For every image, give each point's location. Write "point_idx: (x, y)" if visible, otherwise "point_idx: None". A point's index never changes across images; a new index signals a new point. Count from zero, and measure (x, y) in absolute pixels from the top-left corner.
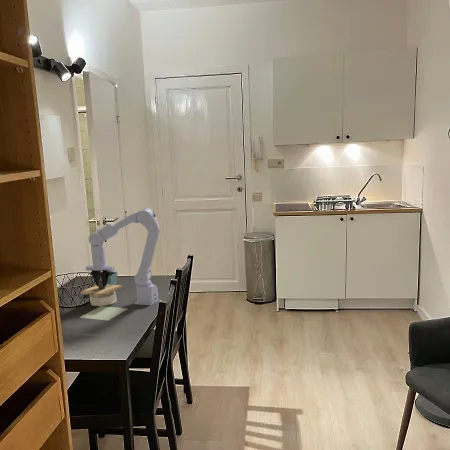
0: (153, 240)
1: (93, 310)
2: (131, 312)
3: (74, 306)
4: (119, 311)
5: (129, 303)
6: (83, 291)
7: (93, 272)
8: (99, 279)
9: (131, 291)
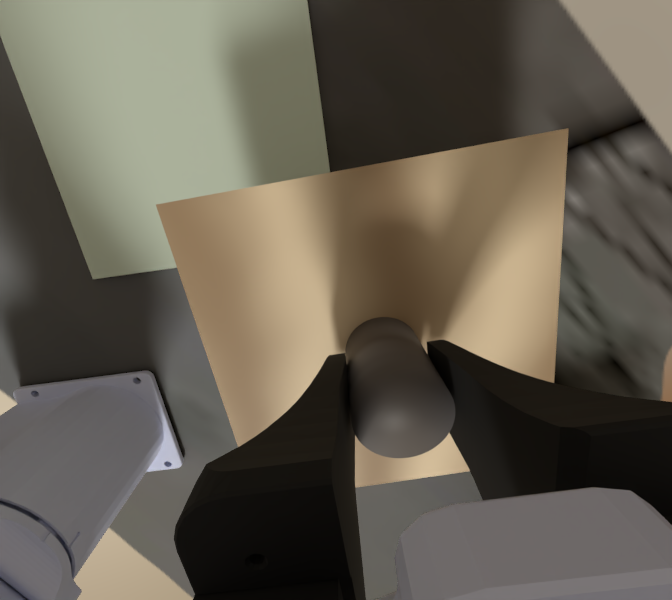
0: None
1: (316, 135)
2: (20, 237)
3: (566, 171)
4: (94, 202)
5: (200, 375)
6: (535, 173)
7: (619, 478)
8: (462, 439)
9: (369, 535)
